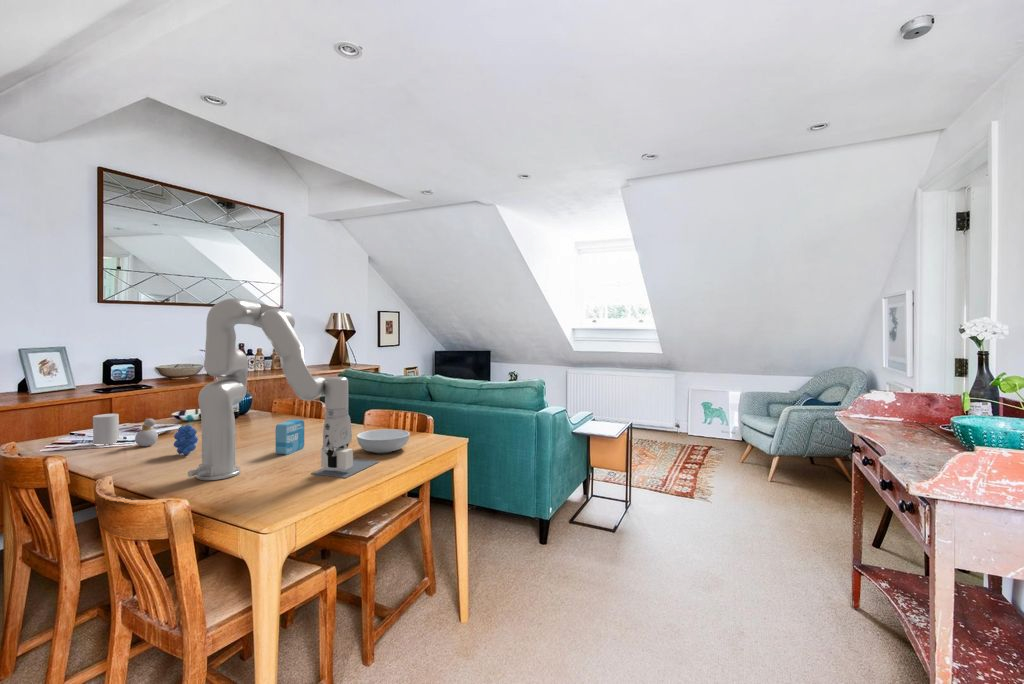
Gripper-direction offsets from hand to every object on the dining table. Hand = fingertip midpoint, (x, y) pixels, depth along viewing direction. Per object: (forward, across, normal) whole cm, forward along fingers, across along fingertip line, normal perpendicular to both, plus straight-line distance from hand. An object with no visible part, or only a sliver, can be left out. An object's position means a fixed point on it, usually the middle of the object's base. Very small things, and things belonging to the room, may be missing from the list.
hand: (337, 464), depth 160 cm
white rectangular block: (+1, 0, 0) cm, 1 cm away
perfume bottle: (+2, +4, +95) cm, 95 cm away
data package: (+3, +16, +35) cm, 39 cm away
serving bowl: (+3, +30, +1) cm, 31 cm away
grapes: (+3, 0, +68) cm, 68 cm away
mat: (+3, +6, 0) cm, 6 cm away
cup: (+2, 0, +115) cm, 115 cm away
